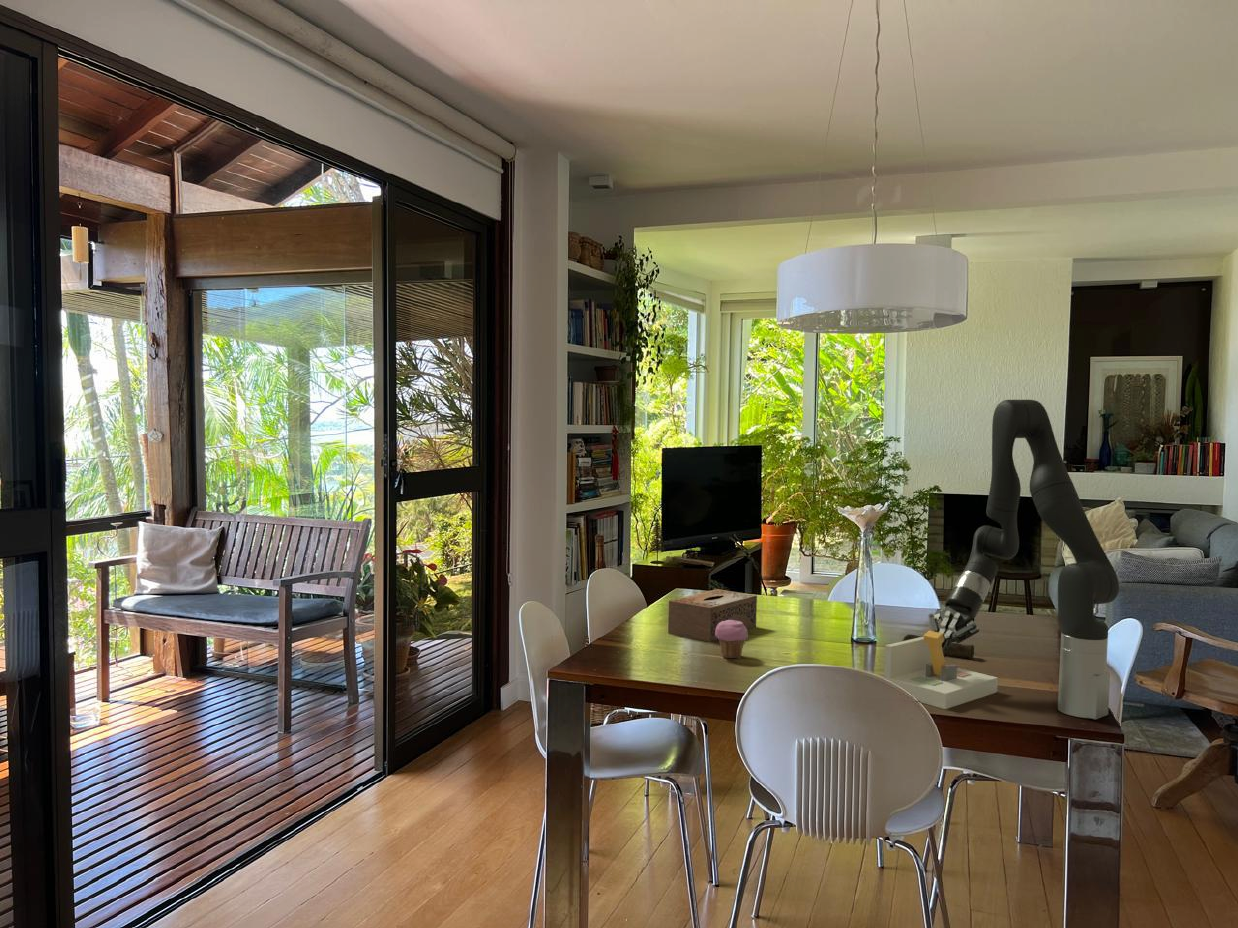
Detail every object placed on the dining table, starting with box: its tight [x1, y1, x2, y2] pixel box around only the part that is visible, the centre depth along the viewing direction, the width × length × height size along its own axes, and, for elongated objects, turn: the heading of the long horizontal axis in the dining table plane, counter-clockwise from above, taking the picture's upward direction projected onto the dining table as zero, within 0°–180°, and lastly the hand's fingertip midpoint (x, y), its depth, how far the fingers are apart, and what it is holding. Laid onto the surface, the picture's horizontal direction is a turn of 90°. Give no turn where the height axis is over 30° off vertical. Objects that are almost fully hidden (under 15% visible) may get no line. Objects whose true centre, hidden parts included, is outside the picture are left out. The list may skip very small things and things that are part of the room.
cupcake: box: [715, 620, 749, 659], centre depth 246 cm, size 9×9×10 cm
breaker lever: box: [922, 630, 946, 676], centre depth 216 cm, size 2×4×10 cm, turn 39°
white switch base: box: [883, 635, 999, 710], centre depth 218 cm, size 22×16×11 cm
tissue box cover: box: [667, 588, 758, 643], centre depth 277 cm, size 26×14×10 cm, turn 141°
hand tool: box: [902, 633, 975, 661], centre depth 254 cm, size 19×4×5 cm, turn 58°
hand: (937, 652), depth 217 cm, fingers closed
